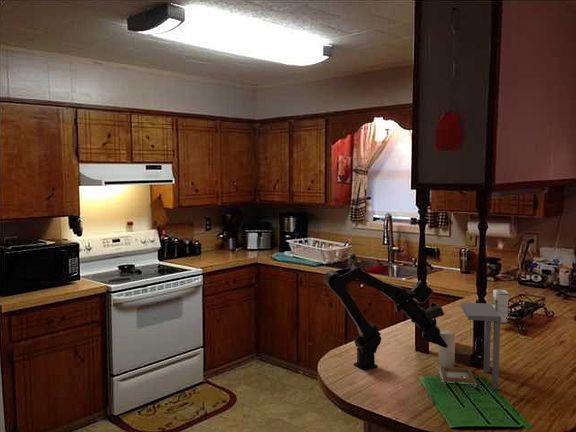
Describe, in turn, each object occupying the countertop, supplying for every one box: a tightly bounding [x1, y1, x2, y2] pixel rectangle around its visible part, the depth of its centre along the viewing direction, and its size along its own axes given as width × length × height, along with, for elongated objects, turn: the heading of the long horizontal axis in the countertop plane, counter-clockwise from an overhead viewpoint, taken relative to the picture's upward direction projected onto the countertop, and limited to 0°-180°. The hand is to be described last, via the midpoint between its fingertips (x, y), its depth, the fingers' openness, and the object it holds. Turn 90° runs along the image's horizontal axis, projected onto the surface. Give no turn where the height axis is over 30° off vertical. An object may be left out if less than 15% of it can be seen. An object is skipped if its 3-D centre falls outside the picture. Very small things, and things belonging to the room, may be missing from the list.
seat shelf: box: [438, 302, 501, 391], centre depth 175 cm, size 18×16×24 cm
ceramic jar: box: [438, 329, 456, 367], centre depth 188 cm, size 6×6×12 cm
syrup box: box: [492, 289, 509, 324], centre depth 240 cm, size 6×6×14 cm
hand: (445, 342), depth 188 cm, fingers open, 9 cm apart
